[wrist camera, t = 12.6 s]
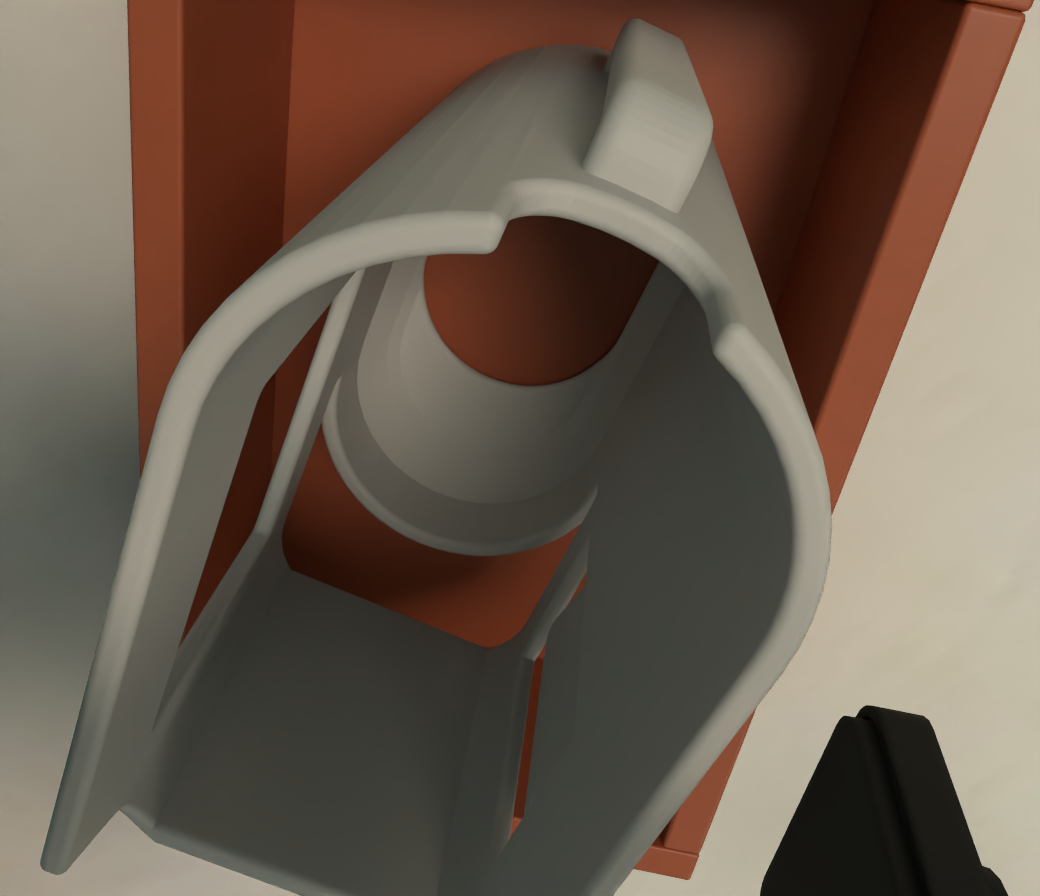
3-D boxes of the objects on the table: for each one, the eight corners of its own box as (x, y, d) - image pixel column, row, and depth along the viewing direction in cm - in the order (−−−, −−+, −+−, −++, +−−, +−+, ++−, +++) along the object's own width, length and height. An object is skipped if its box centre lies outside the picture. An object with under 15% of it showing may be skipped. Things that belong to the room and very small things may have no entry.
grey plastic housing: (296, 487, 23) (1, 979, 12) (499, -69, 17) (265, -52, 6) (557, 595, 23) (492, 1149, 13) (841, 97, 17) (1152, 364, 7)
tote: (268, -194, 17) (118, -241, 12) (935, -64, 16) (1058, -59, 12) (240, 607, 25) (146, 769, 20) (680, 697, 25) (690, 881, 20)
